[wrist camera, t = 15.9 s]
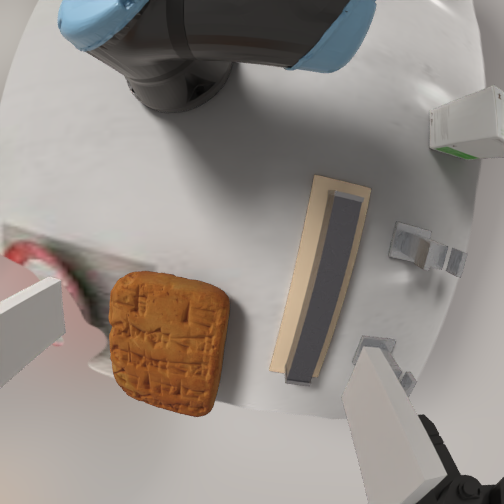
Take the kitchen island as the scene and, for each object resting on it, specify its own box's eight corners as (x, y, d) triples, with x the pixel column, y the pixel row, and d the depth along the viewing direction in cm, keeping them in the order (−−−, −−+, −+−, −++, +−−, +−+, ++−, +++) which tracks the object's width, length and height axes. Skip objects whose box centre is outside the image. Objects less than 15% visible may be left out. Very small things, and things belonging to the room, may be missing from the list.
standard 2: (396, 221, 37) (432, 234, 27) (429, 230, 37) (469, 245, 27) (387, 255, 38) (420, 278, 28) (421, 262, 38) (458, 285, 28)
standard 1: (362, 335, 41) (382, 374, 31) (394, 339, 41) (420, 376, 31) (351, 361, 42) (368, 403, 32) (383, 364, 42) (404, 403, 32)
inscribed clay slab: (217, 396, 46) (209, 428, 38) (127, 370, 46) (108, 396, 38) (241, 281, 40) (234, 304, 33) (130, 255, 41) (102, 270, 33)
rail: (328, 189, 36) (335, 190, 32) (354, 196, 36) (364, 197, 32) (284, 366, 43) (285, 383, 38) (307, 370, 43) (309, 386, 38)
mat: (314, 174, 36) (314, 174, 36) (370, 188, 36) (371, 188, 36) (269, 369, 43) (269, 370, 43) (317, 375, 43) (317, 377, 43)
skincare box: (427, 148, 34) (495, 137, 19) (427, 107, 33) (491, 81, 17) (468, 161, 34) (536, 159, 19) (468, 122, 32) (533, 108, 17)
